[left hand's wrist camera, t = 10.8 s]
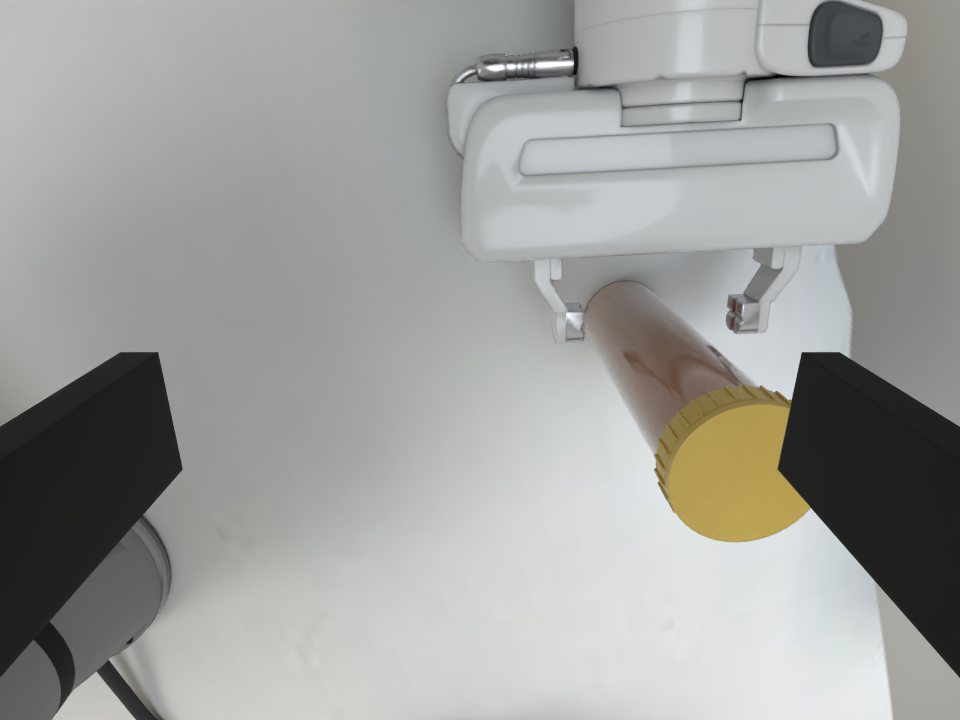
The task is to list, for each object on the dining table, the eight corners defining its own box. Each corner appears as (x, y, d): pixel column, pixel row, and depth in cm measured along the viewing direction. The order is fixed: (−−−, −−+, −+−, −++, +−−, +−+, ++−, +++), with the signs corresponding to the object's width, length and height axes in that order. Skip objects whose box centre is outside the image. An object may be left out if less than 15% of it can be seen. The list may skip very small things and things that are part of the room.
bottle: (577, 350, 39) (658, 522, 22) (591, 276, 37) (691, 399, 20) (652, 359, 39) (789, 534, 22) (669, 285, 37) (834, 414, 20)
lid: (638, 510, 23) (649, 536, 21) (673, 375, 21) (688, 393, 19) (781, 524, 23) (802, 550, 22) (828, 392, 21) (855, 411, 20)
